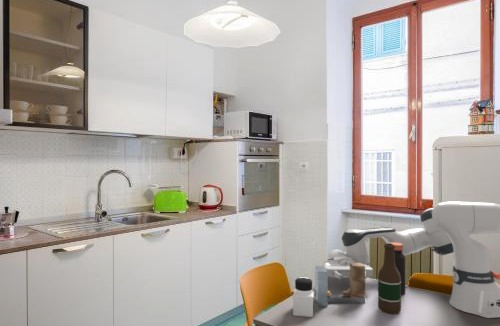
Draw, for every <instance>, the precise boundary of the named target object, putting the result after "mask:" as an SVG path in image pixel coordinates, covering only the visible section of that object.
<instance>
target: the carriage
mask: <svg viewBox="0 0 500 326" xmlns="http://www.w3.org/2000/svg"><path fill="white" fill-rule="evenodd" d="M341 295H343V296H350V297H351V298H364V297H365V295H366V279H365V266H364V265H363V264H362V263H350V277H349V288H348V289H347V290H342V294H341Z"/></svg>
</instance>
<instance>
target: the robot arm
mask: <svg viewBox="0 0 500 326" xmlns="http://www.w3.org/2000/svg"><path fill="white" fill-rule="evenodd" d="M419 217H420V221H421V223H422V225H423V228H422V227H416V228H415V227H414V228H409V229H404V230H400V231H399V230H398V231H397V230H396V228H394V227H388V226H387V227H385V226H384V227H371V228H361V229H360V228H359V229H358V228H357V229H356V228H355V229H354V228H353V229H351V228H350V229H346V230H345V231H344V232H343V234H342V237H341V240H342V244H343V246H344V250H345V251H343V250H341V249H339V248H338V249H337V248H336V249H332V250H331V251H330V252H329V254H328V258H327V259H324V261H323V262H324V264H323V266H324V267H325V269H326V270H327V278H337V279H338V280H343V278H344V279H346V278H350V263H362V264H363V265H364V266H365V280H367V278H373V276H374V268H372V267H371V266H369V265H370V262H371V261H370V257H369V256H370V255H369V251H368V248H367V243H366V239H373V238H381V239H383V240H384V242H385V244H388V243H389V244H390V243H401V244H403V251H402V254H403V255H404V256H408V255H411V254H412V255H413V254H414V253H418V252H420V251H422V250H424V249H427V248H430V247H431V248H432V249H430V251H431V252H434V253H436V254H437V255H440V256H444V257H445V256H447V257H449V256H452V255H453V266H452V281H453V285H452V291H451V295H450V298H449V302H448V303H449V305H450V306H452V307H453V308H455V309H456V310H459V311H461V312H465V313H468V314H472V315H473V314H474V315H477V316H480V317H483V318H484V319H485V318H486V319H493V318H500V284H499V283H497V281H496V280H500V273H498V272H493V271H492V270H490V268H491V267H490V264H491V263H490V260H491V259H490V258H491V257H490V254H491V253H490V251H489V249H488V247H487V246H486V245H484V244H483V243H482V242H480V241H477V240H475V239H473V238H472V237H471V235H489V234H499V233H500V204H498V203H494V202H482V201H481V202H478V201H474V202H473V201H453V200H450V201H444V202H438V203H437V204H435V205H434V207H431V208H430V207H429V208H427V209H425V210H424V211H422V212H421V214H420V216H419ZM495 279H496V280H495Z"/></svg>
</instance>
